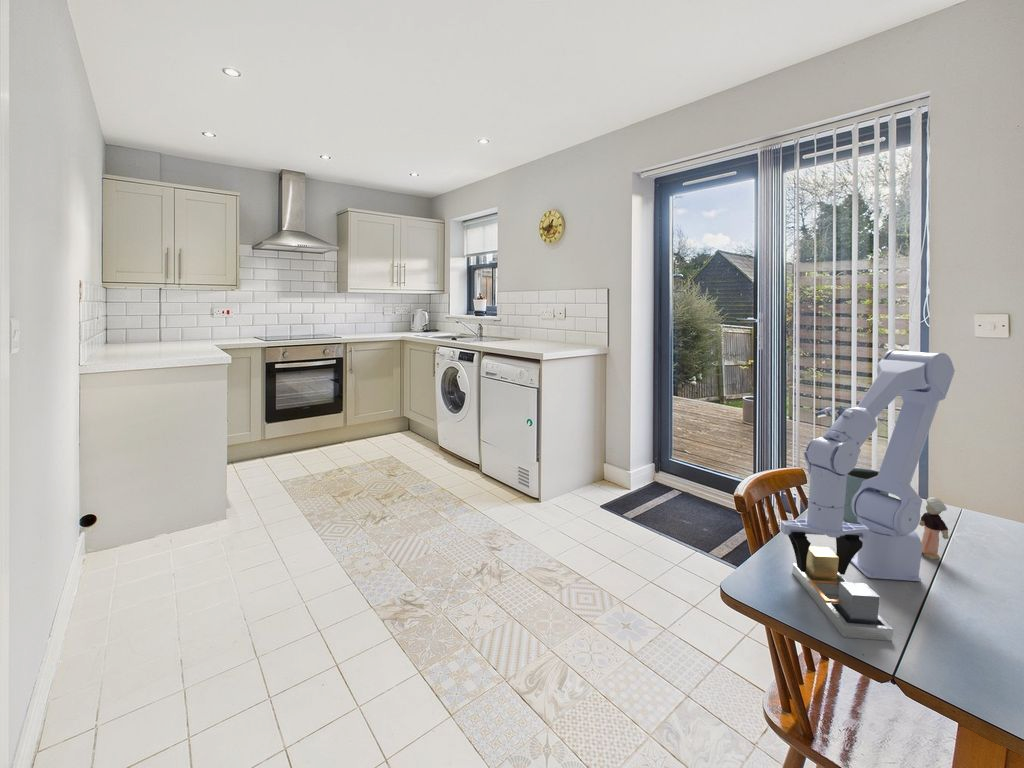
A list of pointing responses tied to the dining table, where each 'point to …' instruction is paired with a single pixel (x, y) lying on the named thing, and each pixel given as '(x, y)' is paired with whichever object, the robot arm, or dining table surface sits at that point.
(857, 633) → the zinc tray
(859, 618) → the gunmetal nut block
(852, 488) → the green pot
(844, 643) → the dining table surface
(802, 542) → the robot arm
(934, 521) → the grandmother figurine
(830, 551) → the golden block
